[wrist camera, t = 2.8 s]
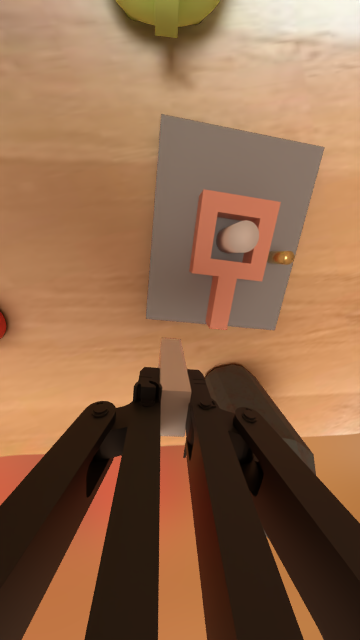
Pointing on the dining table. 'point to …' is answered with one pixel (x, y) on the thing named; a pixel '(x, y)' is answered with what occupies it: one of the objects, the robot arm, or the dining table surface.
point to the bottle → (254, 405)
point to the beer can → (2, 325)
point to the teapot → (168, 13)
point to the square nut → (222, 270)
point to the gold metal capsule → (281, 257)
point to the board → (230, 235)
